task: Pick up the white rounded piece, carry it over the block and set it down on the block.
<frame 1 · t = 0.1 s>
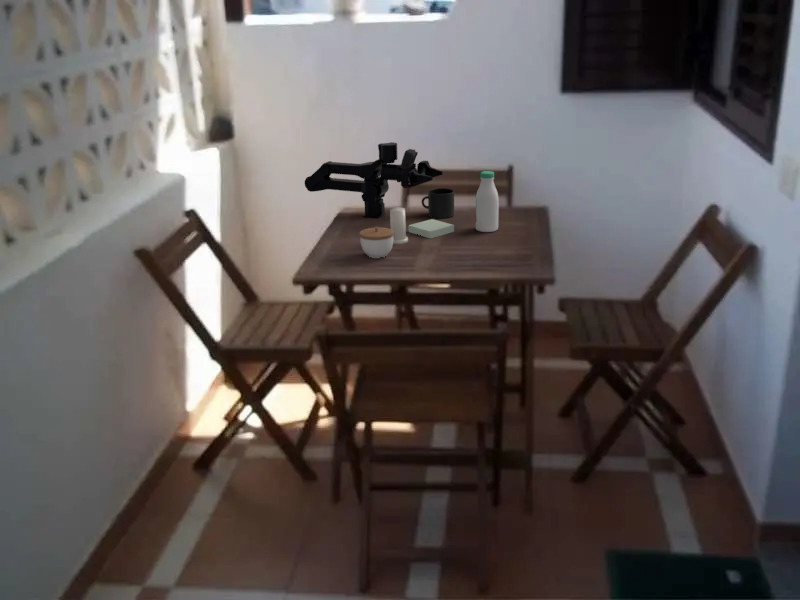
hand: (437, 175, 305), 17 cm above the table, tool horizontal, fingers open, 9 cm apart
milk bottle: (486, 230, 300), on the table
white rounded piece: (398, 241, 289), on the table
lidded jar: (377, 256, 276), on the table
block: (431, 231, 299), on the table
mug: (437, 215, 319), on the table
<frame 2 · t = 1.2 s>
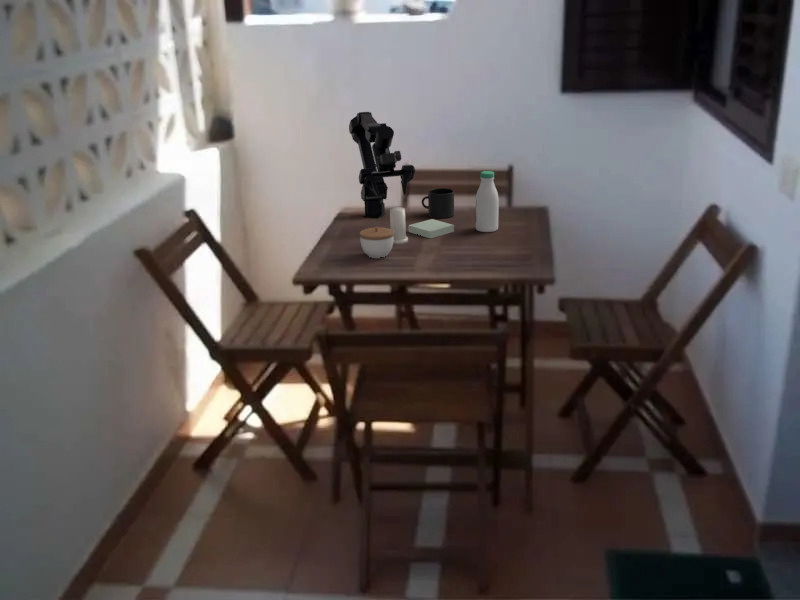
hand: (391, 195, 292), 14 cm above the table, tool tilted 45°, fingers open, 9 cm apart
nothing on the table moved.
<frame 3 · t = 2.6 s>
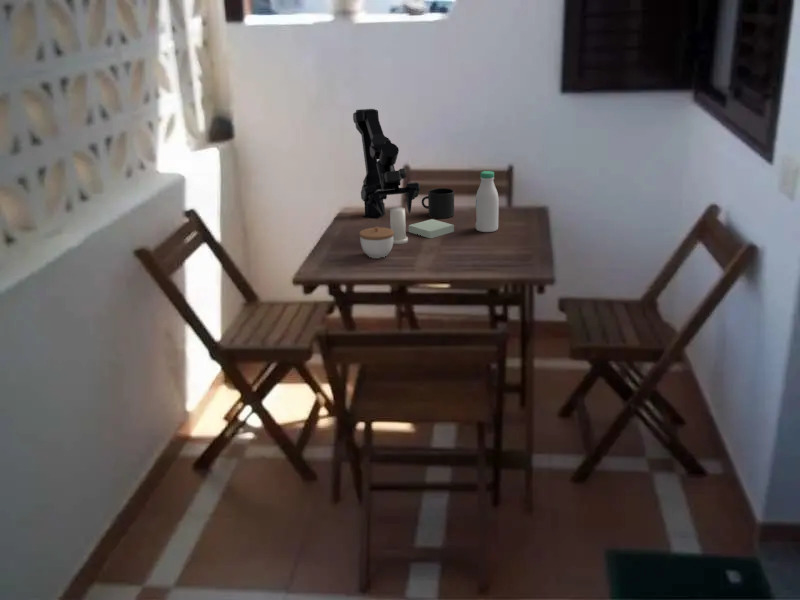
hand: (396, 213, 287), 9 cm above the table, tool tilted 45°, fingers open, 9 cm apart
nothing on the table moved.
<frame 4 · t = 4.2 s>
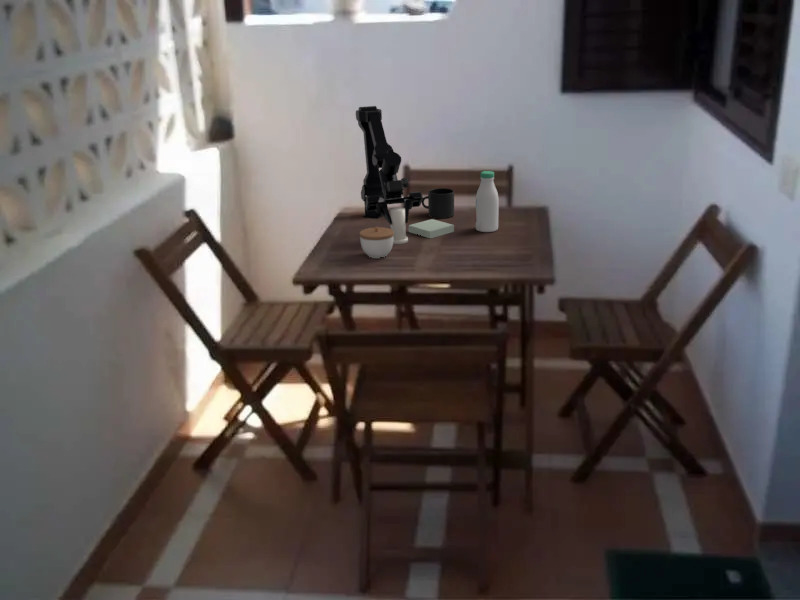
hand: (398, 223, 286), 7 cm above the table, tool tilted 45°, fingers closed on white rounded piece, 5 cm apart
white rounded piece: (398, 241, 289), on the table, touching gripper
everything else where it was.
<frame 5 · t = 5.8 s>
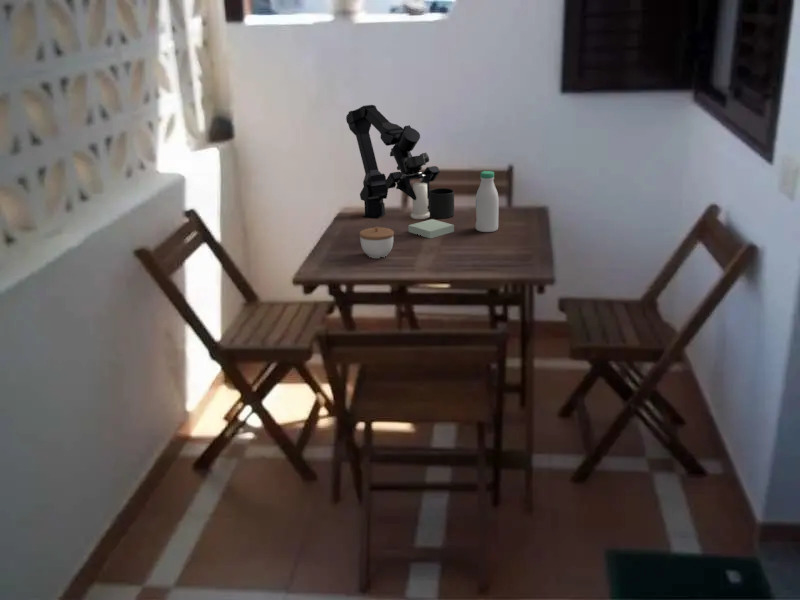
hand: (422, 198, 289), 13 cm above the table, tool tilted 45°, fingers closed on white rounded piece, 5 cm apart
white rounded piece: (420, 216, 292), point 7 cm above the table, touching gripper
everything else where it was.
when the fingers open (9 cm above the table, at t = 7.5 s): white rounded piece stays where it is, resting on block.
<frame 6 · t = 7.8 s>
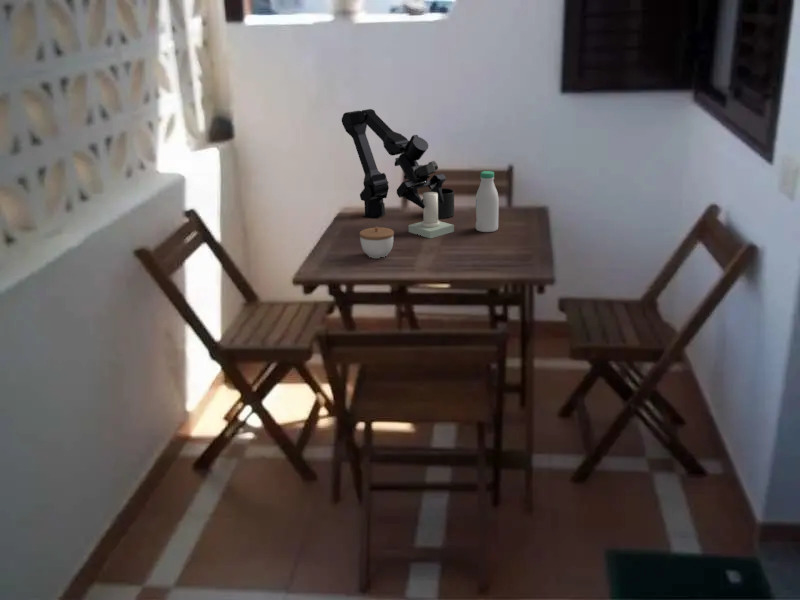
hand: (433, 205, 294), 10 cm above the table, tool tilted 45°, fingers open, 8 cm apart
white rounded piece: (430, 225, 298), point 2 cm above the table, touching block
everything else where it was.
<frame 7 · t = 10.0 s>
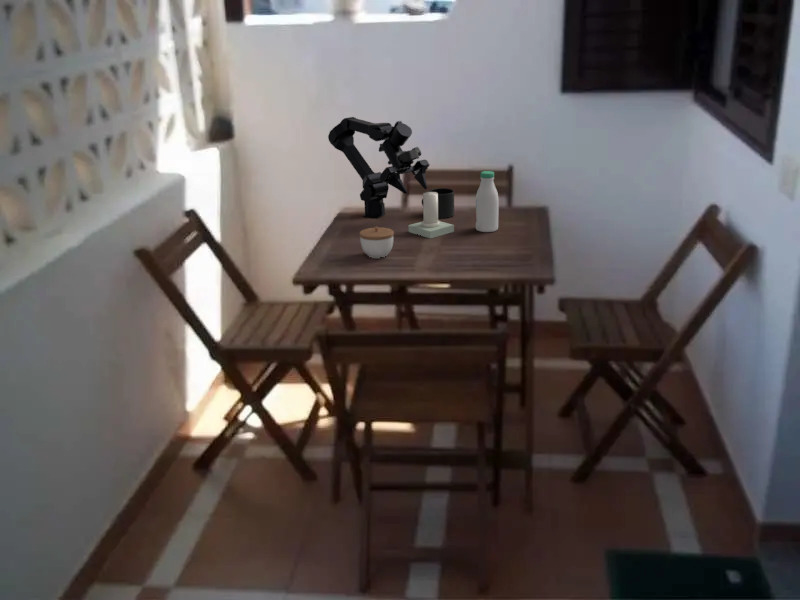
hand: (416, 190, 299), 13 cm above the table, tool tilted 45°, fingers open, 9 cm apart
nothing on the table moved.
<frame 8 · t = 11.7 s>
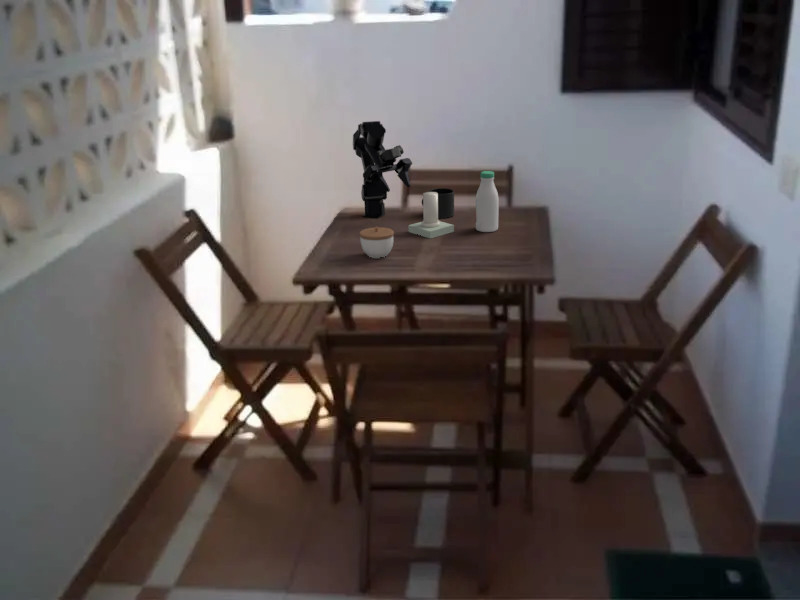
hand: (399, 188, 301), 14 cm above the table, tool tilted 45°, fingers open, 9 cm apart
nothing on the table moved.
at the end: white rounded piece inside the target area on the block (0.1 cm from its centre), point 2.4 cm above the block's base; white rounded piece tilted 0°; the gripper is holding nothing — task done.
